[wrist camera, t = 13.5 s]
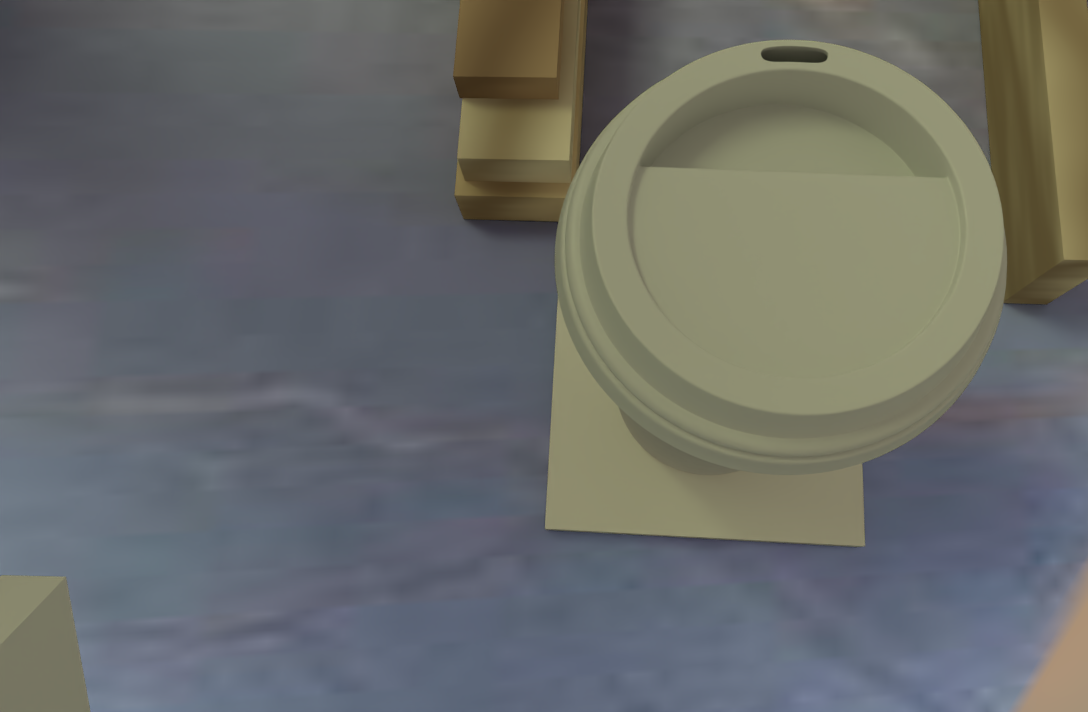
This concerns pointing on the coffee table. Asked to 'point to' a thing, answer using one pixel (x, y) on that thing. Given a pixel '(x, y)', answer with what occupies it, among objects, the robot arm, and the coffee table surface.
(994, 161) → the frame
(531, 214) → the offcut stack
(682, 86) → the coffee cup
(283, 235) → the coffee table surface
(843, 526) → the ceramic tile
